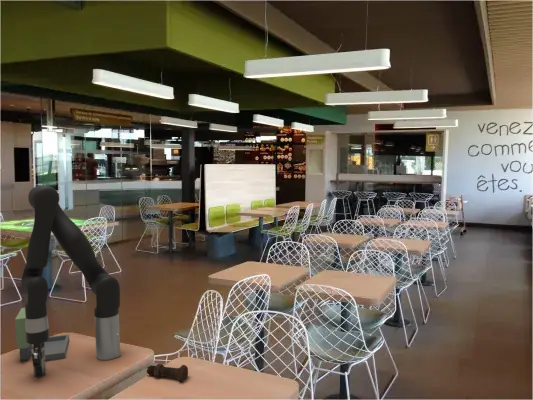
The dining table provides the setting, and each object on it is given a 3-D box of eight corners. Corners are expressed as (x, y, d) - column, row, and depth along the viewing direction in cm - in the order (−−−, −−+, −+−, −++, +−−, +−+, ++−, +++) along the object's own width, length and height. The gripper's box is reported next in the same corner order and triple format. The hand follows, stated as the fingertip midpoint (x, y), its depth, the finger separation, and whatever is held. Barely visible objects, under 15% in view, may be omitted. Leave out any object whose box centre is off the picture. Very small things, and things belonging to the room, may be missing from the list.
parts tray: (69, 339, 203) (68, 334, 203) (65, 358, 184) (64, 352, 184) (41, 343, 200) (41, 337, 199) (34, 362, 181) (34, 356, 181)
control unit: (36, 348, 194) (33, 306, 193) (31, 362, 181) (28, 317, 180) (23, 349, 193) (20, 308, 191) (17, 364, 180) (14, 319, 178)
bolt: (150, 378, 171) (186, 382, 167) (143, 377, 167) (180, 381, 162) (153, 362, 174) (189, 365, 169) (146, 360, 169) (183, 364, 165)
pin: (46, 371, 173) (45, 353, 173) (45, 376, 169) (44, 358, 169) (34, 373, 172) (33, 355, 171) (32, 378, 168) (31, 360, 167)
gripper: (45, 333, 163) (48, 380, 165) (50, 320, 177) (53, 363, 178) (22, 336, 161) (25, 383, 163) (29, 322, 174) (31, 366, 176)
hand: (39, 372), depth 170 cm, fingers closed on pin, 4 cm apart
